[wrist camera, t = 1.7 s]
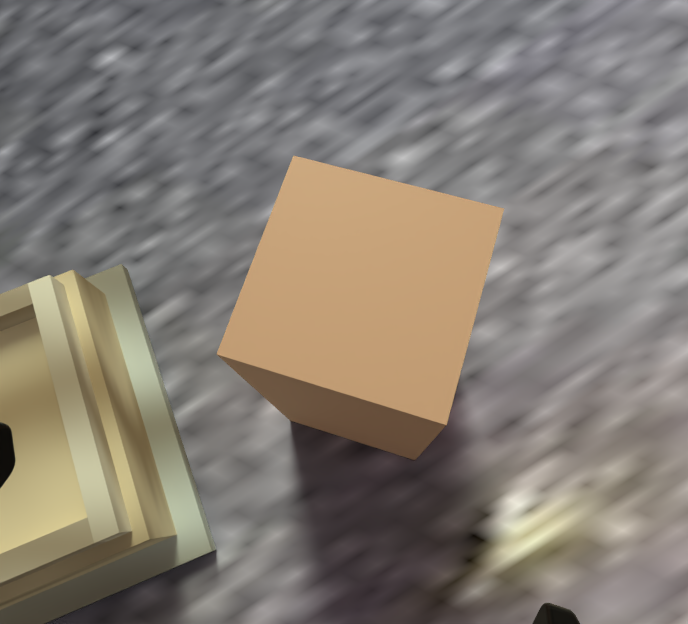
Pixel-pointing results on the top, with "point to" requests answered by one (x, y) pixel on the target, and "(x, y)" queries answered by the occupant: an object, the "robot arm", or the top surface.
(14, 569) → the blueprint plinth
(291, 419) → the column block
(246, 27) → the top surface
